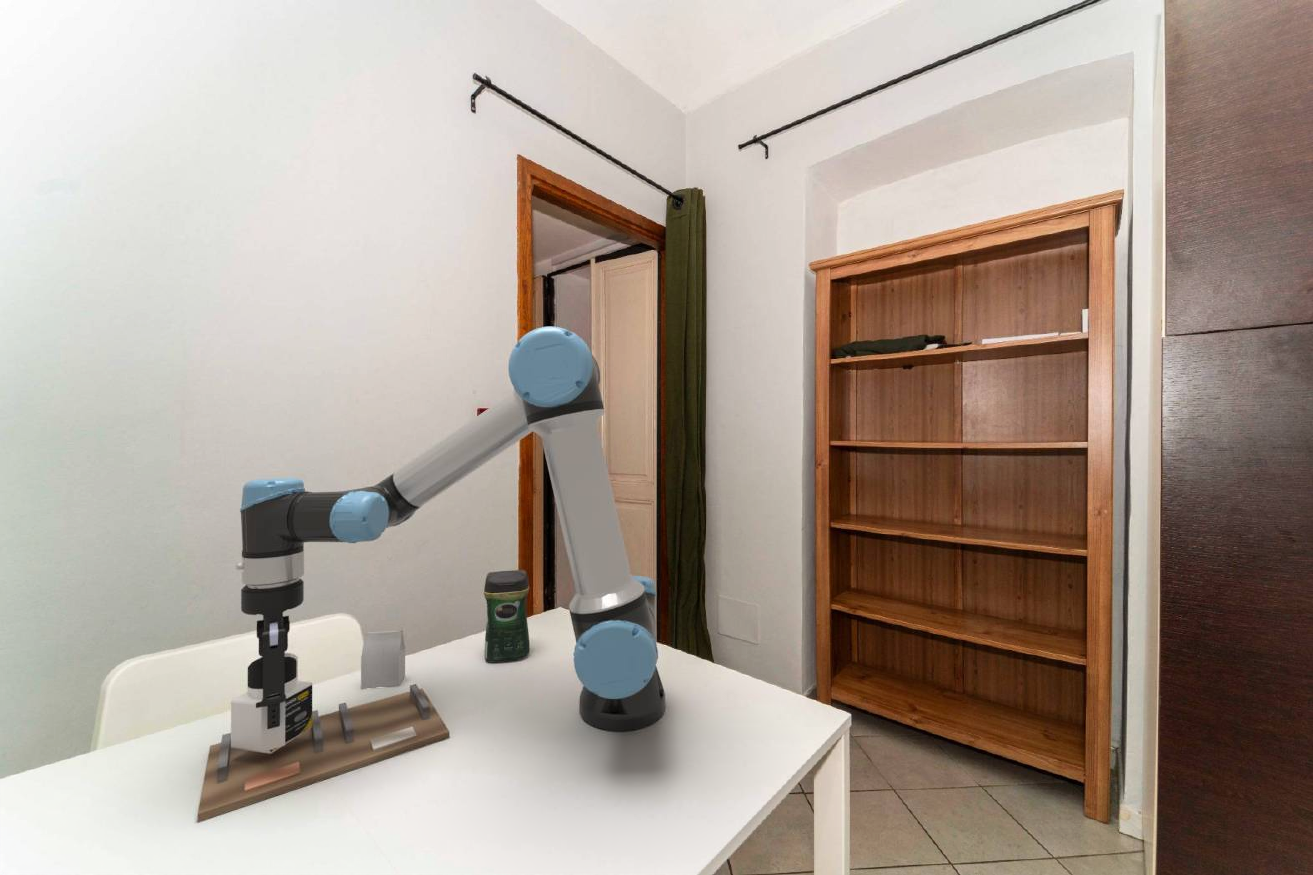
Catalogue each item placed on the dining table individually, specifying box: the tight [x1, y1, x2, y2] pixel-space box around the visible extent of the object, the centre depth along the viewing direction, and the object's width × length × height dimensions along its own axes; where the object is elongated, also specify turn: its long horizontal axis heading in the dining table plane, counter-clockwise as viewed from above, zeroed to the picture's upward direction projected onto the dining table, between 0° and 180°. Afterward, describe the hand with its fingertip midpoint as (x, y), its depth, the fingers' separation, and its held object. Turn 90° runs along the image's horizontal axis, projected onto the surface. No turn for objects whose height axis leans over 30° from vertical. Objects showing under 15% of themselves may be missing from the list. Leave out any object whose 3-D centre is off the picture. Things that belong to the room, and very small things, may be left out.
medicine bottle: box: [230, 652, 313, 754], centre depth 77 cm, size 7×7×12 cm
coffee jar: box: [483, 569, 531, 663], centre depth 113 cm, size 10×8×19 cm
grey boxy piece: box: [360, 630, 406, 690], centre depth 100 cm, size 4×7×10 cm, turn 99°
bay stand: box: [197, 683, 450, 823], centre depth 80 cm, size 18×30×3 cm, turn 127°
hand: (272, 730), depth 77 cm, fingers closed on medicine bottle, 10 cm apart
